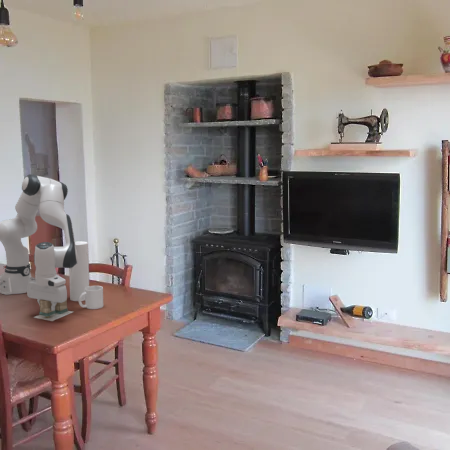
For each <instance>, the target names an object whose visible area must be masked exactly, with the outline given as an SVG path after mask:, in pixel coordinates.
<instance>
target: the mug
mask: <svg viewBox="0 0 450 450" xmlns="http://www.w3.org/2000/svg"><path fill="white" fill-rule="evenodd" d="M83 296H85V300H84V301H85V302H84V304H83V301H81V300H82V297H83ZM78 305H79V306H80V307H81V308H84V309H85V308H86V309H87V310H88V309H89V310H97V309H102V308H103V307H104V288H103V286H101V285H89V287H86V288H85V292H84V293H82V294H81V295H80V297H79V301H78Z"/></svg>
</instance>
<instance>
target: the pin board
mask: <svg viewBox="0 0 450 450" xmlns="http://www.w3.org/2000/svg"><path fill="white" fill-rule="evenodd" d="M72 313H74V311H73V310H72V311H71V310H68V311H67V312H64V313H62V314H57V313H55V314H53V315H50V316H42V315H40V314H38V315H36V316H33V318H34V319H39V320H45V321H50V322H54V321H55V320H58V319H61V318H63V317H65V316H68V315H70V314H72Z"/></svg>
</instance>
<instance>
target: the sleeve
mask: <svg viewBox="0 0 450 450" xmlns="http://www.w3.org/2000/svg"><path fill="white" fill-rule="evenodd" d="M50 306H52V304H51V301H46V300H40V305H39V312H38V313H39V315H42V316H50V315H53V314H55V313H56V311H55V310H54V311H51V310H50Z"/></svg>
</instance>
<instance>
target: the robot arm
mask: <svg viewBox="0 0 450 450" xmlns="http://www.w3.org/2000/svg"><path fill="white" fill-rule="evenodd" d="M21 183H22V184H21V190H22V192H21V194H20V197H19V198H18V200H17V202H16V204H15V206H14V210H15V211H16V213H17V214H16V216H15V217H13V218H10V219H5V220H2V221H0V242H1V244H2V245H3V248H4V251H5V258H6V259H5V260H6V265H3V269H4V272H2V273H1V274H0V294H3V295H5V296H7V295H16V294H17V295H18V294H25V293H27V295H26V296H27V297H28V298H29V299H35V300H36V299H37V303H38V305H39V306H40V300H46V301H51V304H52V306H50V310H51V311H54V310H55V305H56V303H57V302H58V303H62V302H65V301H66V300H67V299H68V291H67V286H66V285H65V284H67V282H66V279H65V278H63V277H61V276H60V275H59V274H57V270H56V268H64V269H69V268H72V267H74V266H75V265H76V264H77V262H78V253H77V250H76V247H75V242H76V241H75V235H74V229H73V223H72V219H71V217H70V215H69V214H67V213H66V212H65V200H66V198H67V196H68V192H69V190H68V187H67V185H66V183H63V182H61V181H58V180H55V179H53V178H50V177H46V176H39V175H37V174H33V173H32V174H27V175H25V177H24V178H23V181H22V182H21ZM38 213H39V216H40V218H41V220H42V221H44V222H45V223H47V224H49V225H51V226H54V227H58V228H60V229H62V230H63V232H64V239H65V245H64V246H54V244H53V243H52V242H49V241H43V242H39V243H37V244H35V247H34V253H33V264H34V266H35V272H34V276H35V277H33V276H32V274H31V263H30V256H29V248H28V247H26V246H24V245H23V244H24V243H23V242H22V239H23V238H27V237H30V236H32V235H34V234H35V233H36V232H37V231H38V223H37V221H36V216H37V214H38ZM67 301H68V300H67Z"/></svg>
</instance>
